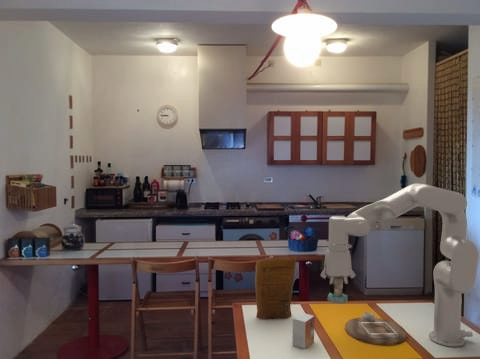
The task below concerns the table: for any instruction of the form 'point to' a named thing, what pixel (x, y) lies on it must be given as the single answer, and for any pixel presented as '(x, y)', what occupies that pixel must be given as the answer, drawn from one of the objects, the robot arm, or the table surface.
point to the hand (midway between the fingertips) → (337, 292)
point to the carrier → (375, 330)
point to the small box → (303, 330)
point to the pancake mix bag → (274, 287)
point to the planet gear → (338, 292)
